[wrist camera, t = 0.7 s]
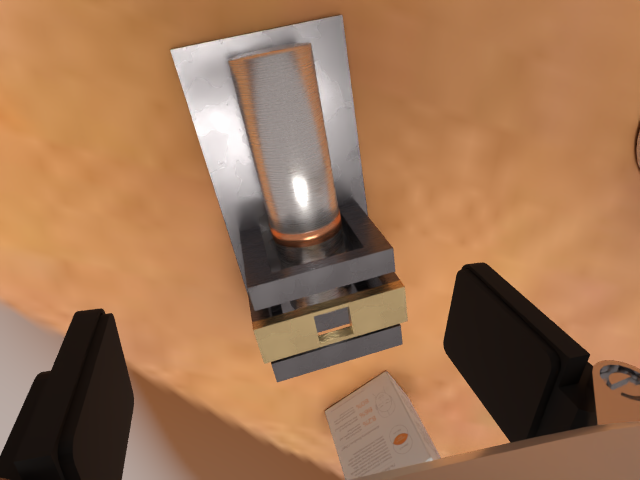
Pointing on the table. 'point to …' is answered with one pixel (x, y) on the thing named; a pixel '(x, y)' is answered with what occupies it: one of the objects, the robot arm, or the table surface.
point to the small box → (378, 430)
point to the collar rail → (253, 224)
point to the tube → (291, 155)
